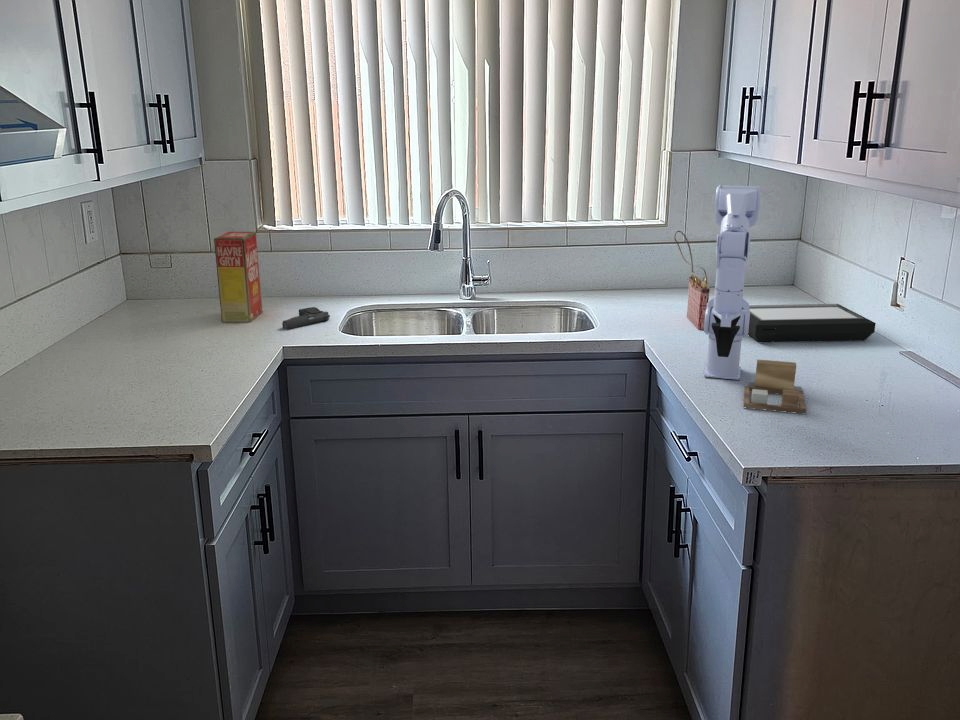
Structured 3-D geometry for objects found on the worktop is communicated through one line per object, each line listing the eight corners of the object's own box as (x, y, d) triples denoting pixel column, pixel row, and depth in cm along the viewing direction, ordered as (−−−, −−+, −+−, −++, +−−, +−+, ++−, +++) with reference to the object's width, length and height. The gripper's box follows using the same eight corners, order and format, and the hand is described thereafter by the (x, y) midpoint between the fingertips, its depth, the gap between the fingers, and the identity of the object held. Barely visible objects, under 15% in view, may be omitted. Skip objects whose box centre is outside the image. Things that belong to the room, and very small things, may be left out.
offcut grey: (751, 402, 171) (752, 389, 170) (765, 403, 170) (767, 390, 169) (751, 407, 168) (752, 393, 167) (766, 408, 168) (767, 395, 167)
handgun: (265, 315, 236) (287, 321, 228) (313, 305, 247) (335, 311, 239) (266, 325, 237) (288, 331, 229) (314, 315, 248) (336, 320, 240)
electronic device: (840, 302, 230) (876, 319, 211) (837, 323, 232) (872, 342, 213) (730, 304, 229) (756, 322, 210) (728, 325, 231) (753, 345, 212)
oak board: (754, 384, 180) (757, 359, 178) (792, 388, 178) (795, 362, 176) (754, 388, 178) (757, 362, 176) (793, 392, 175) (796, 365, 174)
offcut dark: (781, 405, 169) (783, 389, 168) (796, 406, 168) (798, 390, 167) (781, 409, 167) (783, 394, 166) (797, 411, 166) (798, 395, 165)
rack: (744, 389, 178) (744, 385, 178) (802, 395, 175) (802, 390, 174) (743, 408, 167) (744, 403, 167) (805, 414, 164) (806, 409, 164)
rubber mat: (749, 383, 182) (749, 382, 182) (801, 388, 179) (801, 386, 179) (748, 390, 178) (749, 389, 177) (802, 395, 174) (802, 394, 174)
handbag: (692, 312, 245) (698, 230, 237) (709, 331, 225) (717, 241, 217) (668, 312, 245) (674, 230, 237) (683, 331, 225) (690, 241, 217)
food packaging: (251, 322, 237) (243, 237, 230) (220, 322, 237) (210, 238, 230) (264, 311, 250) (257, 231, 242) (234, 311, 250) (225, 231, 243)
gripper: (749, 297, 160) (742, 362, 164) (749, 283, 174) (743, 343, 178) (712, 295, 162) (707, 359, 167) (715, 281, 176) (710, 341, 180)
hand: (723, 351), depth 172 cm, fingers open, 7 cm apart
